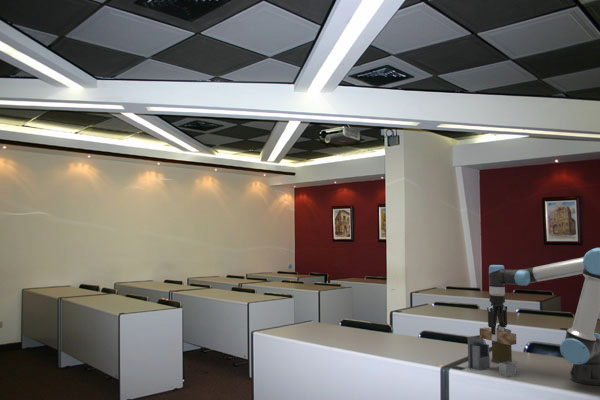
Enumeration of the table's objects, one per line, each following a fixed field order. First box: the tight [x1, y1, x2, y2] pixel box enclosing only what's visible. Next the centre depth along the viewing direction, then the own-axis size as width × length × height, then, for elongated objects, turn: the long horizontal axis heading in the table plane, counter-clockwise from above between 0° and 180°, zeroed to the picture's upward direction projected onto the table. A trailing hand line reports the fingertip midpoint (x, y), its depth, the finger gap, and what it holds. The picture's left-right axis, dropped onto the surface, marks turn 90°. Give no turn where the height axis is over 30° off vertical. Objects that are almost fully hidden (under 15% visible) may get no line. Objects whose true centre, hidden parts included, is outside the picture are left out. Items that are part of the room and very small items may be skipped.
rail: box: [479, 326, 517, 346], centre depth 241 cm, size 18×5×5 cm, turn 31°
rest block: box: [498, 361, 517, 378], centre depth 230 cm, size 4×8×6 cm, turn 123°
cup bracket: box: [467, 334, 491, 371], centre depth 244 cm, size 6×11×16 cm, turn 123°
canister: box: [491, 324, 513, 364], centre depth 258 cm, size 11×10×20 cm
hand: (498, 340), depth 240 cm, fingers closed on rail, 5 cm apart
